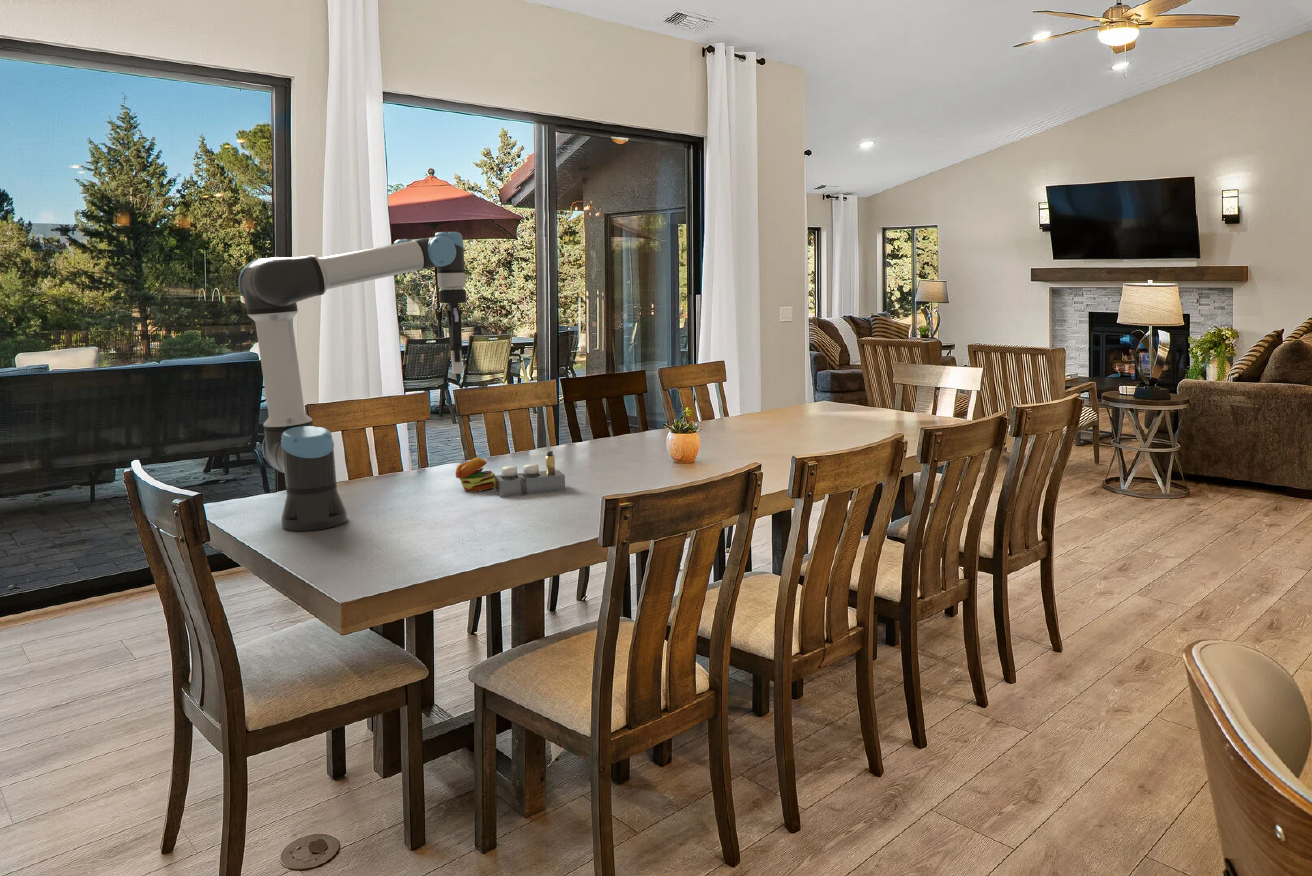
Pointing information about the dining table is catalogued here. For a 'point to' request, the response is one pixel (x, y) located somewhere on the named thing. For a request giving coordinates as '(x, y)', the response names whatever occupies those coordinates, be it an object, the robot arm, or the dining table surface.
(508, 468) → the knob
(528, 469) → the knob
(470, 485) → the cheeseburger
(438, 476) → the dining table surface
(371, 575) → the dining table surface
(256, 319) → the robot arm
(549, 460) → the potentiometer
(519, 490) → the mount
